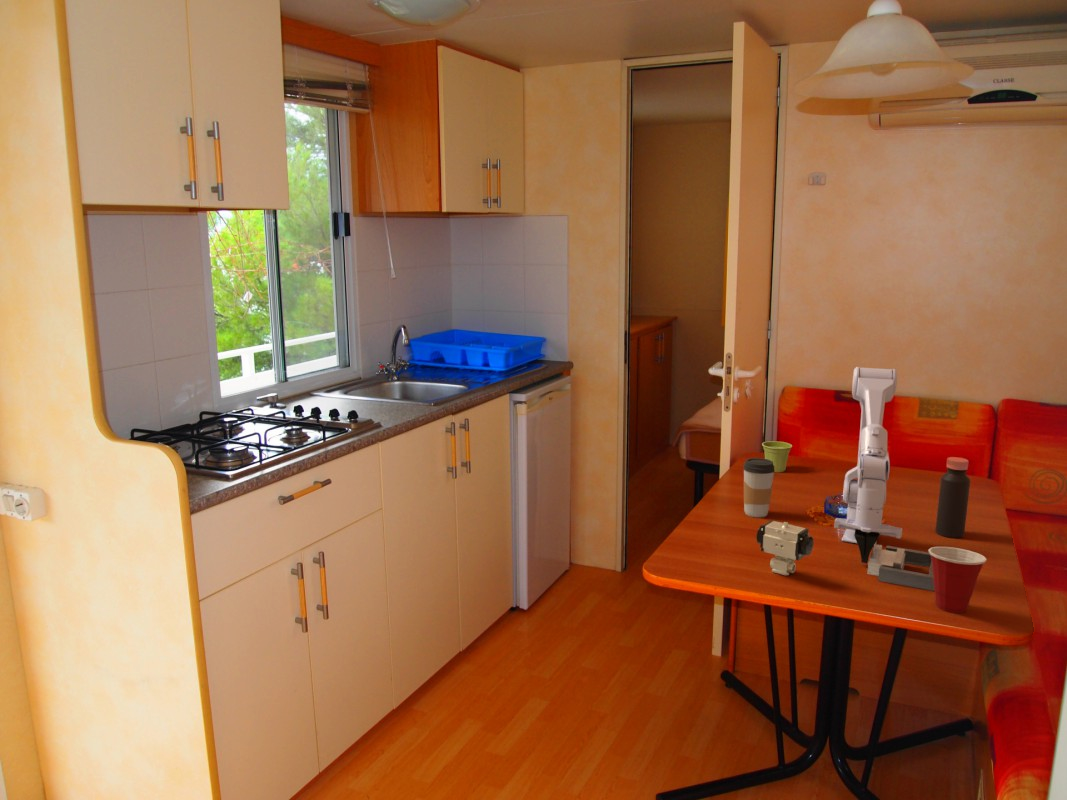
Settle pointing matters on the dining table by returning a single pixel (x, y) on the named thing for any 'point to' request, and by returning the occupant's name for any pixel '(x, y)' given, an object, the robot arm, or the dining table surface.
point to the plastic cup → (954, 576)
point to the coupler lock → (885, 559)
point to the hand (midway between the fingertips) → (864, 561)
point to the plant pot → (777, 454)
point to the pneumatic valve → (784, 545)
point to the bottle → (953, 499)
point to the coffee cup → (757, 486)
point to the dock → (908, 576)
